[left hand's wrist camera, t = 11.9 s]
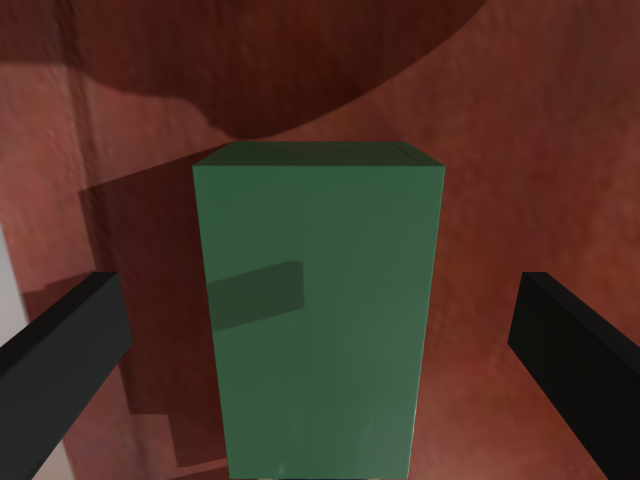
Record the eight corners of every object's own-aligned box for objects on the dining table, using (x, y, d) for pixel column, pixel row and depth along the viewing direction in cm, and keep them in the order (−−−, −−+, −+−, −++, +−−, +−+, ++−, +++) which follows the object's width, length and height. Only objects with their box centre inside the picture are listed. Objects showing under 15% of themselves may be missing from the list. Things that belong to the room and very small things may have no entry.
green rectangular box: (386, 385, 32) (407, 479, 24) (251, 384, 32) (229, 479, 24) (406, 141, 25) (446, 165, 17) (231, 141, 25) (191, 165, 17)
